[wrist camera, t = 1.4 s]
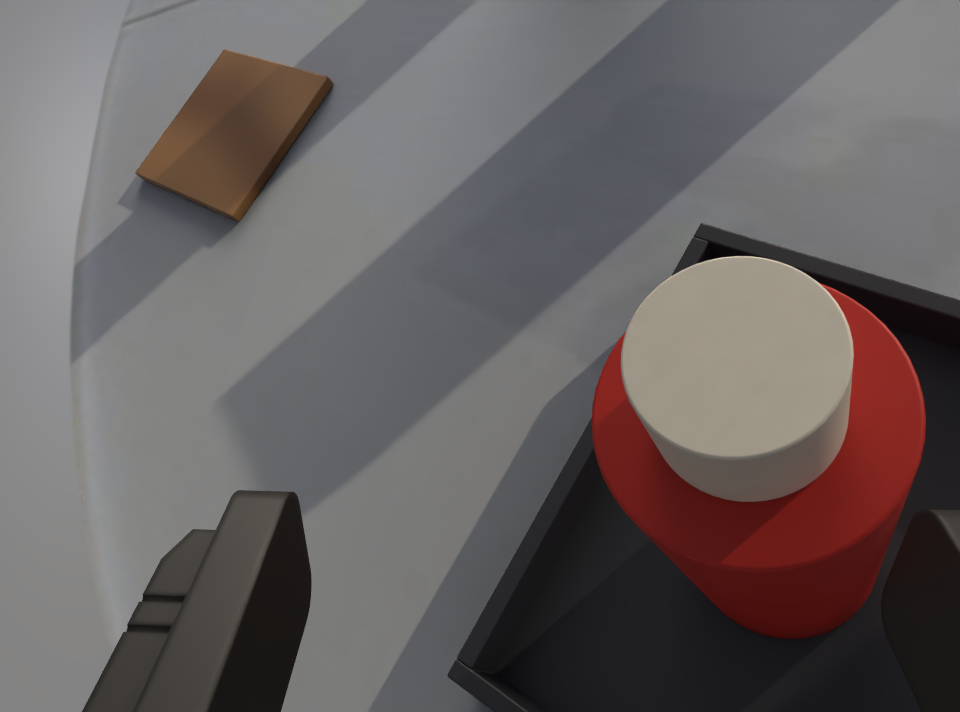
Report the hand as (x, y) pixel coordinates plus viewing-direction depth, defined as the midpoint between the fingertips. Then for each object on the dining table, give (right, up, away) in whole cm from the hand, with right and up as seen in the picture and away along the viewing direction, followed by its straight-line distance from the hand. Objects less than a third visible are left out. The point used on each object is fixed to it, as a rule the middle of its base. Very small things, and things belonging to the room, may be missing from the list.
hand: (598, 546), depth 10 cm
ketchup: (+8, -3, +13) cm, 16 cm away
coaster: (-15, +15, +32) cm, 39 cm away
